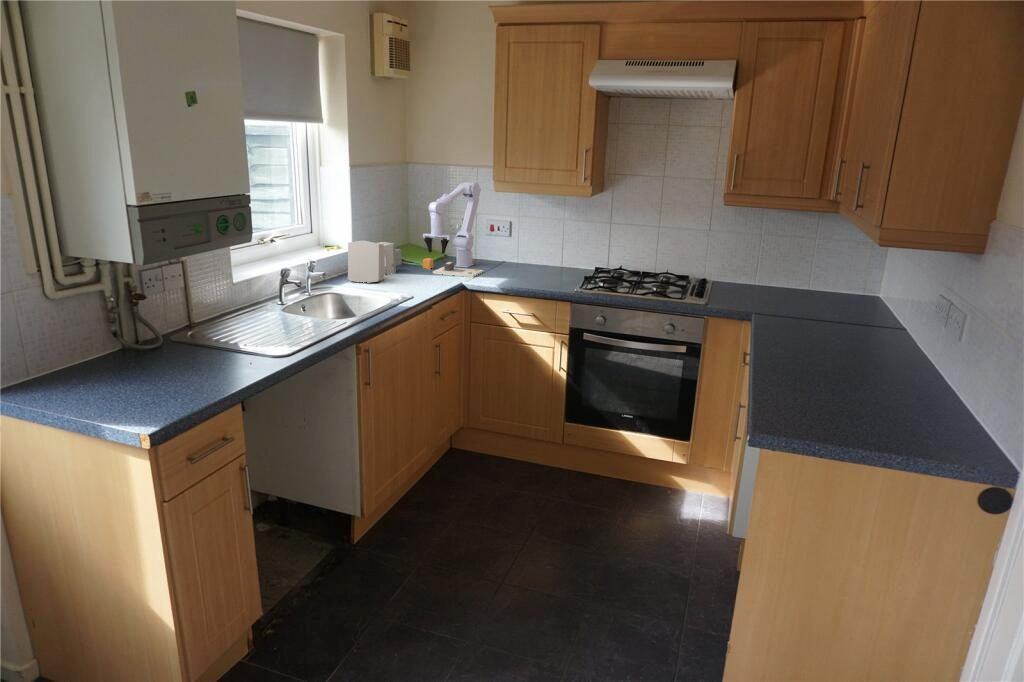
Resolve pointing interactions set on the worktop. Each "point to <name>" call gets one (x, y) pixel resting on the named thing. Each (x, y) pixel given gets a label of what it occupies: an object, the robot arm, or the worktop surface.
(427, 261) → the cap
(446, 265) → the breaker lever
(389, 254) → the circuit breaker
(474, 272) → the light wooden flat board
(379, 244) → the electrical switch box
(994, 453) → the worktop surface
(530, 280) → the worktop surface
